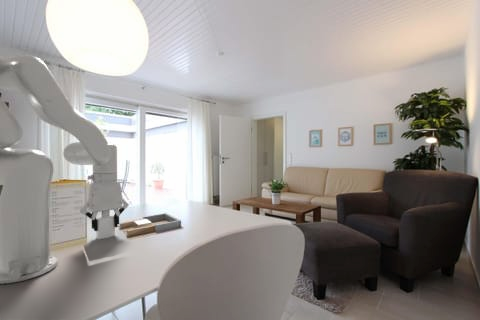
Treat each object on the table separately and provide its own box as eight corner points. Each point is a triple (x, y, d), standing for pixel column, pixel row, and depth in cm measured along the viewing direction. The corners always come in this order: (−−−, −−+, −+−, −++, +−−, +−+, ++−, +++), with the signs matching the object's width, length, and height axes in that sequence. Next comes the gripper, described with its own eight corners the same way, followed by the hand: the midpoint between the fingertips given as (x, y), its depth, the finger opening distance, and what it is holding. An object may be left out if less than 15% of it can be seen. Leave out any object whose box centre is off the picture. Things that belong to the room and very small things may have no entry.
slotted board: (184, 230, 91) (183, 222, 91) (130, 242, 78) (130, 233, 78) (165, 219, 107) (164, 213, 107) (117, 228, 94) (117, 220, 94)
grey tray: (181, 226, 93) (181, 220, 92) (156, 232, 86) (155, 225, 86) (166, 218, 105) (166, 213, 105) (143, 222, 98) (142, 216, 98)
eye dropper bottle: (98, 238, 83) (97, 205, 82) (115, 236, 85) (115, 204, 84) (95, 242, 78) (95, 207, 78) (113, 240, 81) (113, 206, 80)
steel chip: (151, 228, 90) (151, 222, 90) (138, 231, 87) (138, 224, 87) (146, 225, 94) (146, 219, 94) (133, 227, 91) (133, 221, 91)
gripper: (76, 180, 73) (77, 236, 73) (133, 177, 84) (134, 226, 84) (74, 178, 79) (75, 230, 79) (128, 176, 90) (128, 221, 90)
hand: (105, 227), depth 81 cm, fingers closed on eye dropper bottle, 5 cm apart
